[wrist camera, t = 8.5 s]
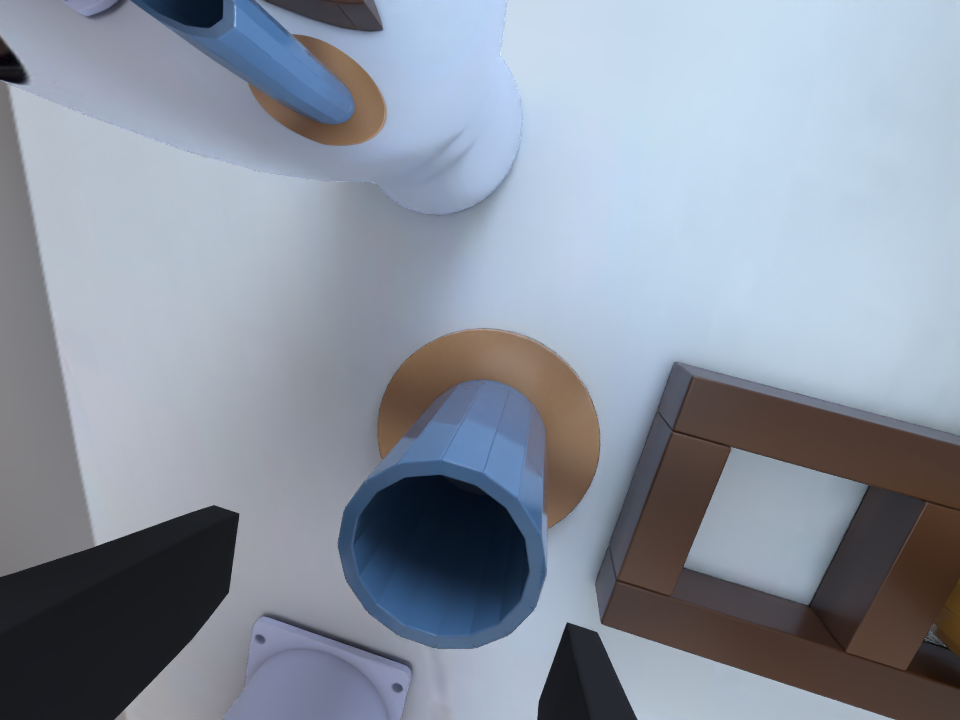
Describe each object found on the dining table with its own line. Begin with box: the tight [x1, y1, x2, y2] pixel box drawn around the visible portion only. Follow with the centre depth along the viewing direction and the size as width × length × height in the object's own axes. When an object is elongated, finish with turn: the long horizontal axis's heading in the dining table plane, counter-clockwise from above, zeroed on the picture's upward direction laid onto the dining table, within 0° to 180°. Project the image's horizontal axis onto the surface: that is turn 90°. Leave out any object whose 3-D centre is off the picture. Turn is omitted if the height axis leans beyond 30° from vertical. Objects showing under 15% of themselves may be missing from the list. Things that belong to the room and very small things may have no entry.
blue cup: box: [338, 379, 548, 649], centre depth 14 cm, size 5×5×8 cm
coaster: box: [378, 328, 600, 529], centre depth 18 cm, size 9×9×1 cm
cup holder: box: [595, 362, 960, 720], centre depth 16 cm, size 10×18×2 cm, turn 77°
